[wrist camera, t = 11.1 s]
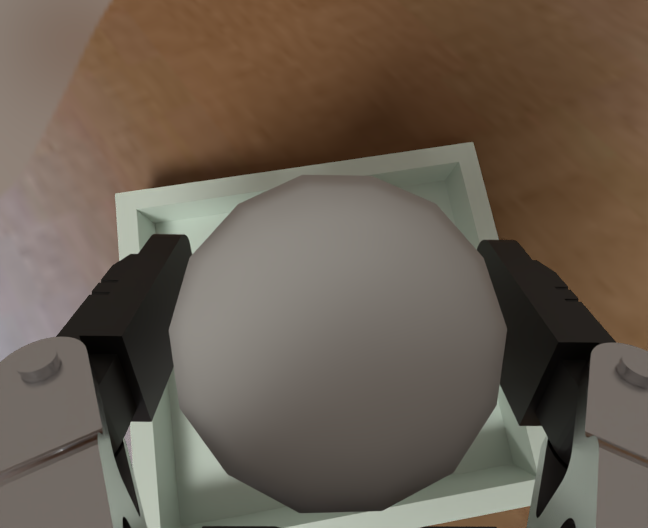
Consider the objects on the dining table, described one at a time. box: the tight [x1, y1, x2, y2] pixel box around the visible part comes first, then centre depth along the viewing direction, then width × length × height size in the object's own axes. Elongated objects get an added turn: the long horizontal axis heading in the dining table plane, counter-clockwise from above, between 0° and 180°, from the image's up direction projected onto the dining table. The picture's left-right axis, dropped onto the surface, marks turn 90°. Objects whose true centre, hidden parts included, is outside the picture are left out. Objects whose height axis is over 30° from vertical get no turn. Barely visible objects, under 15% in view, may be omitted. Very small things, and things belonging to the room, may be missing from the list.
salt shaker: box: [169, 175, 507, 513], centre depth 11 cm, size 6×6×13 cm
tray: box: [115, 142, 546, 528], centre depth 16 cm, size 15×14×2 cm
